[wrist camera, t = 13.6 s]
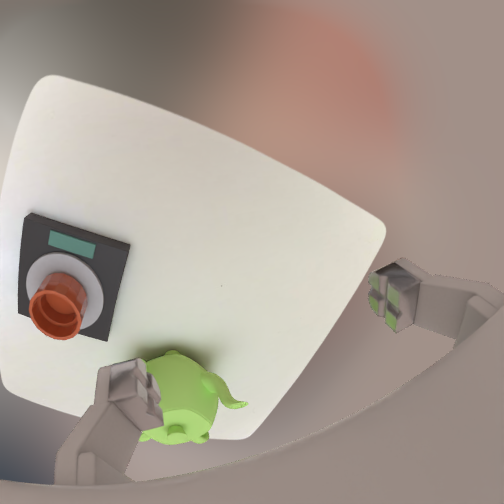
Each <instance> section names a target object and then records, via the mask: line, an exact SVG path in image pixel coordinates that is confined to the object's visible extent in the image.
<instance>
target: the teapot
mask: <svg viewBox="0 0 504 504" xmlns="http://www.w3.org/2000/svg"><path fill="white" fill-rule="evenodd" d="M135 359H136V358H135ZM142 360H143V359H142ZM143 362H144V363H145V365H146V372H149V373H151V374H152V375H153V376H154V378H155V379H156V381H157V383H158V386H159V389H160V392H161V401H160V403H159V404H158V405H159V406H160V408H161V409H162V411H163V420H164V426H162V427H158V428H154V429H150V430H146V431H142V432H143V433H142V434H141V436H140V438H139V441H141V442H142V441H147V440H149V439H151V438H152V439H154V440H155V441H158V442H160V443H163V444H168V445H173V444H180V443H185V442H188V441H191V440H192V441H193V442H195V443H198V444H200V443H204V442H206V441H207V440H208V439H209V433H208V431H209V430H210V428H211V426H212V424H213V422H214V419H215V416H216V413H217V409H218V397H219V399H220V400H221V402H222V404H223V405H224V406H225V407H227V408H230V409H238V408H242V407H245V406H247V405H248V403H247V402H242V401H237V400H235V399H234V398H233V397H232V396H231V394H230V392H229V389H228V387H227V385H226V383H225V382H224V381H223V379H222V378H220V377H219V376H218V375H216V374H214V373H211V372H207V371H206V370H205V369H204V368H203V367H201V366H200V365H199V364H198V363H196V362H195V361H193V360H191V359H190V358H188V357H186V356H183V355H181V354H180V353H179V352H178V351H175V350H170V351H168V352H166V353H165V356H162V357H158V358H155V359H152V360H150V361H148V362H146V361H145V360H143Z"/></svg>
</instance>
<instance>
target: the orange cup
mask: <svg viewBox="0 0 504 504" xmlns="http://www.w3.org/2000/svg"><path fill="white" fill-rule="evenodd" d="M87 305H88V302H87V295H86V293H85V291H84V289H83V287H82V285H81V284H80V283H79V282H77V281H76V280H75V279H74V278H73V277H71V276H68V275H66V274H64V273H53V274H50V275H48V276H46V277H45V278H44V279H43V281H42V282H41V283H40V285H39V287H38V288H37V290H36V291H35V293H34V295H33V296H32V298H31V300H30V304H29V312H30V316H31V319H32V321H33V323H34V324H35V326H36V327H37V328H38V329H39V330H40V331H41V332H42V333H44V334H45V335H47V336H49V337H51V338H53V339H58V340H67V339H70V338H73V337H74V336H75V335H76V334H77V333H78V332H79V331H80V327H81V324H82V321H83V317H84V314H85V311H86V308H87Z"/></svg>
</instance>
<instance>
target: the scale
mask: <svg viewBox="0 0 504 504" xmlns="http://www.w3.org/2000/svg"><path fill="white" fill-rule="evenodd" d="M129 249H130V245H129V244H126V243H123V242H120V241H116V240H113V239H110V238H107V237H104V236H101V235H97V234H94V233H91V232H88V231H85V230H82V229H79V228H76V227H72V226H69V225H66V224H63V223H60V222H57V221H54V220H51V219H48V218H45V217H42V216H39V215H36V214H33V213H30V214H29V215H27V216H26V217H25V218H24V223H23V231H22V239H21V249H20V261H19V278H18V313H19V314H22V315H24V316H27V317H30V318H31V316H30V312H29V304H30V300H31V298H32V296H33V295H34V293H35V291H36V290H37V288H38V287H39V285H40V283H41V282H42V281H43V279H44V278H45V277H46V276H48V275H50V274H53V273H64V274H66V275H68V276H71V277H73V278H74V279H75V280H76V281H77V282H79V283H80V284H81V285H82V287H83V289H84V291H85V293H86V295H87V302H88V305H87V308H86V311H85V314H84V317H83V321H82V324H81V327H80V331H79V332H78V334H81V335H85V336H88V337H92V338H95V339H99V340H102V341H106V342H107V341H108V337H109V331H110V326H111V322H112V317H113V312H114V308H115V303H116V299H117V295H118V291H119V287H120V283H121V279H122V275H123V271H124V267H125V264H126V260H127V256H128V253H129Z"/></svg>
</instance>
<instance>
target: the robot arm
mask: <svg viewBox="0 0 504 504" xmlns="http://www.w3.org/2000/svg"><path fill="white" fill-rule="evenodd" d="M368 282H369V284H370V285H371V286H372V287H371V289H370V291H369V293H368V295H369V296H368V297H369V303H370V306H371V308H372V310H373V311H374V312H375V313H376V315H377V316H380V317H384V318H385V323H386V324H387V325H388V326H389V327H390V328H391V329H392V330H393V331H394V332H395V333H398V332H400V331H402V330H403V329H405V328H407V327H409V326H411V325H412V324H414V325H416V326H419V327H422V328H424V329H427V330H430V331H433V332H436V333H439V334H442V335H444V336H447V337H450V338H453V339H456V341H455V344H454V347H453V350H452V351H450V352H449V353H448V354H446V355H445V356H444V357H442V358H441V359H440V360H438V361H437V362H436V363H434V364H433V365H432V366H430V367H429V368H427V369H426V370H425V371H423V372H422V373H420V374H419V375H417V376H416V377H414V378H413V379H411V380H410V381H408V382H407V383H405V384H404V385H402V386H401V387H399V388H397V389H396V390H394V391H392V392H391V393H389V394H387V395H386V396H384V397H382V398H381V399H379V400H377V401H375V402H374V403H372V404H370V405H368V406H367V407H365V408H363V409H361V410H359V411H357V412H356V413H353V414H352V415H350V416H348V417H346V418H344V419H342V420H340V421H338V422H336V423H334V424H331V425H329V426H327V427H325V428H323V429H321V430H319V431H316V432H314V433H312V434H309V435H307V436H305V437H302V438H300V439H298V440H295V441H293V442H290V443H288V444H285V445H282V446H280V447H277V448H274V449H272V450H269V451H266V452H263V453H260V454H257V455H254V456H251V457H248V458H245V459H242V460H238V461H235V462H231V463H228V464H224V465H221V466H217V467H213V468H209V469H205V470H201V471H196V472H192V473H187V474H182V475H177V476H172V477H166V478H160V479H154V480H147V481H140V482H135V481H133V480H132V479H130V478H129V477H127V476H126V475H124V473H125V471H126V469H127V466H128V464H129V462H130V459H131V457H132V455H133V452H134V450H135V448H136V445H137V443H138V441H139V438H140V436H141V434H142V432H141V431H146V430H150V429H154V428H158V427H162V426H164V420H163V411H162V409H161V408H160V406H159V405H158V404H159V403H160V401H161V392H160V389H159V386H158V383H157V381H156V379H155V378H154V376H153V375H152V374H151V373H149V372H146V365H145V363H144V362H143V360H142V359H141V358H136V359H132V360H128V361H124V362H120V363H116V364H113V365H109V366H105V367H101V368H100V369H99V370H98V375H97V382H96V390H95V399H94V405H90V407H89V408H88V409H87V411H86V412H85V413H84V415H83V416H82V418H81V419H80V420H79V422H78V423H77V425H76V426H75V428H74V429H73V430H72V432H71V433H70V434H69V436H68V437H67V439H66V440H65V442H64V443H63V445H62V446H61V447H60V449H59V450H58V452H57V453H56V461H55V474H54V485H44V484H31V483H21V482H13V481H6V480H0V504H504V293H502V292H501V291H499V290H498V289H496V288H495V287H493V286H492V285H490V284H489V283H485V282H479V281H473V280H467V279H460V278H454V277H448V276H442V275H436V274H435V275H433V276H432V275H430V274H429V273H427V272H426V271H424V270H423V269H421V268H420V267H418V266H417V265H415V264H414V263H412V262H411V261H409V260H408V259H406V258H400V259H398V260H396V261H394V262H392V263H391V264H388V265H386V266H384V267H382V268H380V269H377V270H375V271H373V272H371V273H370V275H369V281H368Z"/></svg>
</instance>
